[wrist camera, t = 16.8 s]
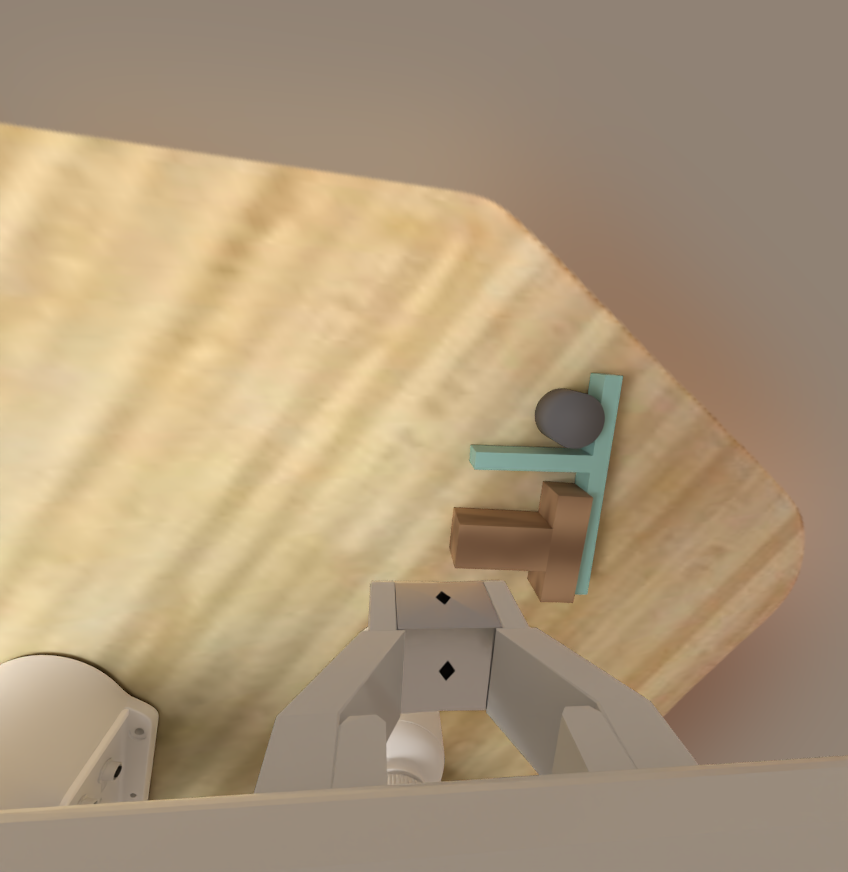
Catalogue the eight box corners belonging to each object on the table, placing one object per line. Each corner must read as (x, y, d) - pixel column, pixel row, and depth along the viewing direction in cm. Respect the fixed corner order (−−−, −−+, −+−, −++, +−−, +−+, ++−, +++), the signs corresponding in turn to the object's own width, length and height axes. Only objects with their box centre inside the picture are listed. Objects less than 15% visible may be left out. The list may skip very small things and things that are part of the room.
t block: (556, 579, 38) (573, 602, 35) (446, 575, 37) (451, 599, 34) (574, 482, 36) (593, 497, 33) (456, 476, 35) (463, 490, 32)
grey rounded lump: (581, 437, 35) (602, 448, 32) (533, 439, 35) (548, 449, 31) (586, 388, 34) (607, 392, 31) (535, 388, 34) (551, 393, 30)
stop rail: (575, 579, 38) (587, 594, 36) (459, 578, 37) (464, 594, 35) (607, 373, 34) (623, 375, 31) (476, 367, 33) (483, 369, 31)
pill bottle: (441, 623, 38) (469, 793, 24) (419, 689, 40) (432, 887, 25) (362, 607, 37) (340, 775, 23) (342, 676, 39) (311, 874, 24)
